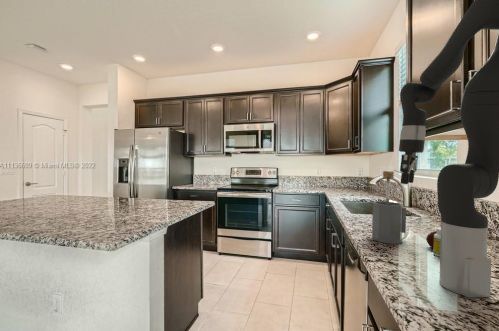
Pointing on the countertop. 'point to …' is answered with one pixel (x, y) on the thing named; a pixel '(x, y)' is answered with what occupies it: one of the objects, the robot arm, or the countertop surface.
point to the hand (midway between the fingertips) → (407, 183)
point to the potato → (431, 239)
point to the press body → (388, 222)
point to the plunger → (388, 183)
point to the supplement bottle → (437, 242)
